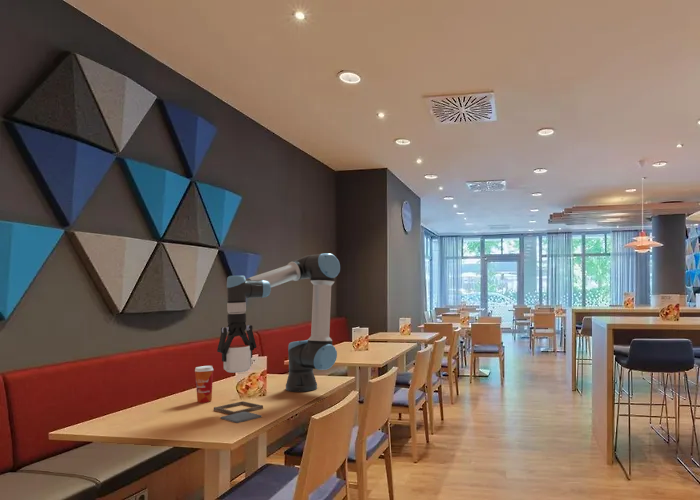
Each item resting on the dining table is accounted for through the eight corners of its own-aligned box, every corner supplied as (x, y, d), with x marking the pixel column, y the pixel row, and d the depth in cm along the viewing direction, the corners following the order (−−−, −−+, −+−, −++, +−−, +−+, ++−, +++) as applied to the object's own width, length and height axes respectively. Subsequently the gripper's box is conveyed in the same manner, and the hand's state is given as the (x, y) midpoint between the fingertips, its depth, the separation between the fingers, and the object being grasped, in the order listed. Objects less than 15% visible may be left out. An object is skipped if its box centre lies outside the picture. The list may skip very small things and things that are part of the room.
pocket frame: (242, 404, 224) (242, 401, 224) (262, 408, 214) (262, 405, 214) (213, 410, 213) (213, 407, 213) (233, 415, 204) (233, 412, 204)
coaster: (244, 412, 207) (244, 411, 207) (261, 417, 199) (261, 415, 199) (220, 418, 199) (220, 416, 199) (237, 423, 191) (237, 421, 191)
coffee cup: (190, 403, 229) (190, 368, 230) (202, 399, 237) (201, 365, 238) (207, 403, 226) (206, 368, 227) (218, 399, 234) (217, 365, 235)
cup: (244, 373, 209) (243, 347, 209) (220, 373, 211) (220, 348, 211) (253, 369, 218) (253, 344, 219) (231, 369, 220) (231, 345, 221)
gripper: (254, 311, 227) (255, 363, 225) (207, 314, 211) (208, 370, 209) (264, 311, 222) (265, 365, 220) (217, 314, 205) (218, 372, 204)
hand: (237, 367), depth 215 cm, fingers closed on cup, 10 cm apart
